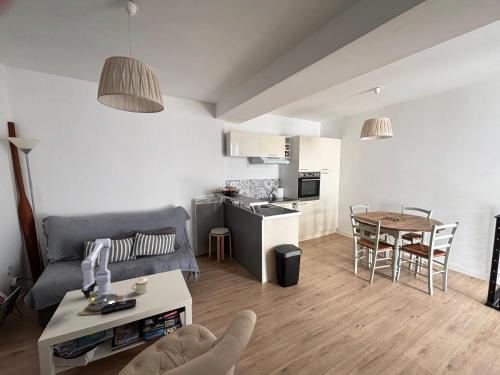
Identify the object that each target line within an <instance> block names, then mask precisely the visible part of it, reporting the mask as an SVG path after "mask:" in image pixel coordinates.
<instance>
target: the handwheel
mask: <svg viewBox="0 0 500 375" xmlns="http://www.w3.org/2000/svg"><path fill="white" fill-rule="evenodd" d="M117 301H118V294H116V293H107V294H106V295H99V296H97V297H95V298H94V297H93V296H92V297H89V298H88V305H87V307H88V309H89V310H91V311H100V310H101V309H102V308H103V307H104V306H106V305H108V304H112V303H116V302H117Z"/></svg>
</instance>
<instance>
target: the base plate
mask: <svg viewBox="0 0 500 375" xmlns="http://www.w3.org/2000/svg"><path fill="white" fill-rule="evenodd" d="M117 296H118V301H117V302H119V301H120V302H122V300H123V299H124V298H125V297H126V296H125V294H121V295H120V294H119V295H118V294H117ZM89 315H102V314H101V312H100V311H91V310H89V309H88V306H87V307H86V308H84V309H83V311H81V312H80V313H79V316H80V317H81V316H89Z"/></svg>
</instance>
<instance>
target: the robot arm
mask: <svg viewBox="0 0 500 375" xmlns="http://www.w3.org/2000/svg"><path fill="white" fill-rule="evenodd" d="M111 246H112V240H111V239H110V238H96V239H95V241H94V248H93V250H92V252H90V253H89V254H88V255H87V257H86V259H85V260H83V261H82V262H81V264H80V269H81V272H82V273H83V274H82V276H83V283H81V285H82V286H83V288H82V289H81V290H80V291H81V293H82V294H83V295H84V297H85V299H90V298H91V293H93V292H95V287H96V285H97V293H95V296H103V295H107V294H109V292H111V290H112V289H113V287H112V284H111V271H110V270H109V269H108V260H109V259H108V258H109V249H111ZM99 252H100V261H99V270H98V271H96V273H95V275H94V267H95V264H96V260H97V258H98V256H99Z"/></svg>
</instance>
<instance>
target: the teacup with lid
mask: <svg viewBox="0 0 500 375" xmlns="http://www.w3.org/2000/svg"><path fill="white" fill-rule="evenodd" d="M134 286H135V287H136V288H134ZM131 289H132V290H133V291H136V294H137V295H142V294H145V293H147V292H148V291H149V279H148V278H147V277H140V278H138V280H136V281H135V283H133V284H132V286H131Z"/></svg>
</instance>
